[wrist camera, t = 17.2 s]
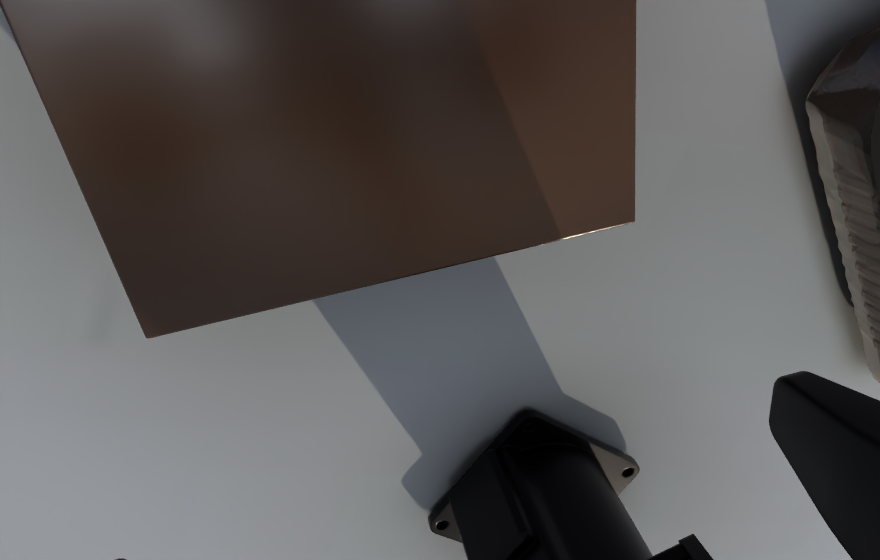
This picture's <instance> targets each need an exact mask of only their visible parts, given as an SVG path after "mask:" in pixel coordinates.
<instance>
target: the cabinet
mask: <svg viewBox="0 0 880 560" xmlns="http://www.w3.org/2000/svg"><path fill="white" fill-rule="evenodd" d="M0 6H1V8H2V11H3V13H4V15H5V17H6V20H7V22H8V24H9V27H10V29H11V31H12V33H13V36H14V38H15V40H16V42H17V45H18V47H19V49H20V52H21V54H22V56H23V58H24V61H25V63H26V65H27V68H28V70H29V72H30V74H31V77H32V79H33V81H34V84H35V86H36V88H37V90H38V93H39V95H40V97H41V100H42V102H43V104H44V106H45V109H46V111H47V113H48V116H49V118H50V120H51V122H52V125H53V127H54V129H55V132H56V134H57V136H58V138H59V141H60V143H61V145H62V147H63V150H64V152H65V154H66V157H67V159H68V161H69V163H70V166H71V168H72V170H73V173H74V175H75V177H76V179H77V182H78V184H79V186H80V189H81V191H82V193H83V195H84V198H85V200H86V202H87V205H88V207H89V209H90V211H91V214H92V216H93V218H94V221H95V223H96V225H97V227H98V230H99V232H100V234H101V237H102V239H103V241H104V243H105V246H106V248H107V250H108V252H109V255H110V257H111V259H112V262H113V264H114V266H115V268H116V271H117V273H118V275H119V278H120V280H121V282H122V284H123V287H124V289H125V291H126V294H127V296H128V298H129V300H130V303H131V305H132V307H133V310H134V312H135V314H136V316H137V319H138V321H139V323H140V326H141V328H142V330H143V332H144V335H145V337H146V338H153V337H157V336H161V335H165V334H169V333H174V332H178V331H182V330H186V329H190V328H195V327H199V326H203V325H207V324H211V323H216V322H220V321H224V320H228V319H232V318H236V317H241V316H245V315H249V314H253V313H257V312H262V311H266V310H270V309H274V308H278V307H282V306H287V305H291V304H295V303H299V302H303V301H308V300H312V299H316V298H320V297H324V296H329V295H333V294H337V293H341V292H345V291H349V290H354V289H358V288H362V287H366V286H370V285H375V284H379V283H383V282H387V281H391V280H395V279H400V278H404V277H408V276H412V275H416V274H421V273H425V272H429V271H433V270H437V269H442V268H446V267H450V266H454V265H458V264H462V263H467V262H471V261H475V260H479V259H483V258H488V257H492V256H496V255H500V254H504V253H508V252H513V251H517V250H521V249H525V248H529V247H534V246H538V245H542V244H546V243H550V242H555V241H559V240H563V239H567V238H571V237H575V236H580V235H584V234H588V233H592V232H596V231H601V230H605V229H609V228H613V227H617V226H621V225H626V224H630V223H633V222H634V221H635V100H636V0H0Z"/></svg>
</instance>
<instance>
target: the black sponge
mask: <svg viewBox="0 0 880 560" xmlns="http://www.w3.org/2000/svg"><path fill="white" fill-rule="evenodd" d="M806 111H807V114H808V116H809V119H810V130H811V133H812V137H813V140H814V143H815V147H816V152H817V161H818V170H819V174H820V177H821V179H822V181H823V183H824V187H825V193H826V197H827V203H828V206H829V208H830V209H831V216H832V220H833V223H834V226H835V228H836V236H837V238H838V248H839V250H840V251H841V253H842V263H843V265H844V266H845V269H846V272H845V276H846V279H847V282H848V289H849V290H850V292H851V294H852V298H851V301H852V302H853V304H854V307H855V309H854V313H855V315H856V317H857V322H856V324H857V326H858V327H859V329H860V331H861V333H862V341H863V346H864V351H865V356H866V359H867V363H868V367H869V369H870V371H871V373H872V375H873V377H874V378H875V379H876V380H877V381H878V382H879V383H880V27H879V28H878V29H876V30H874V31H872V32H870V33H867V34H865V35H863V36H860V37H857V38H854V39H852V40H851V41H850V42H848V43H847V44H846V45H844V47H843V48H842V49H841V50H840V51H839V53H838V54H837V55H836V56H835V57H834V59H833V60H832V61H831V62H830V63H829V65H828V66H827V67H826V68H825V69H824V71H823V72H822V73H821V74H820V75H819V77H818V78H817V80H816V82H815V84H814V86H813V87H812V89H811V91H810V92H809V94H808V96H807V100H806Z"/></svg>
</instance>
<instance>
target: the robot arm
mask: <svg viewBox="0 0 880 560" xmlns="http://www.w3.org/2000/svg"><path fill="white" fill-rule="evenodd" d="M531 421H532V422H531ZM528 422H531V423H530V424H528V425H525V424H526V423H528ZM769 425H770V429H771V432H772V434H773V437H774V438H775V440H776V442H777V443H778V445H779V447H780V448H781V450H782V452H783V453H784V455H785V457H786V458H787V460H788V461H789V463H790V465H791V466H792V468H793V470H794V471H795V473H796V475H797V476H798V478H799V480H800V481H801V483H802V485H803V486H804V488H805V489H806V491H807V493H808V494H809V496H810V498H811V499H812V501H813V503H814V504H815V506H816V508H817V509H818V511H819V512H820V514H821V516H822V517H823V519H824V520H825V522H826V523H827V525H828V526H829V528H830V529H831V531H832V532H833V534H834V535H835V536H836V538H837V539H838V541H839V542H840V543H841V545H842V546H843V547H844V549H845V550H846V551H847V553H848V554H849V555H850V557H851V558H852V559H853V560H880V401H879V400H876V399H874V398H871V397H869V396H867V395H864V394H862V393H859V392H857V391H854V390H852V389H849V388H847V387H845V386H842V385H840V384H837V383H835V382H832V381H830V380H827V379H825V378H823V377H820V376H818V375H815V374H813V373H810V372H806V371H800V372H796V373H792V374H789V375H785V376H782V377H779V378H778V379H777V380H776V381H775V383H774V387H773V394H772V401H771V408H770V415H769ZM638 473H639V466H638V464H637V463H636V461H635V460H634V459H633V458H632V457H630V456H628V455H626V454H624V453H622V452H620V451H618V450H616V449H614V448H612V447H610V446H608V445H605V444H603V443H601V442H599V441H597V440H595V439H593V438H591V437H589V436H587V435H585V434H583V433H581V432H579V431H576V430H574V429H572V428H570V427H568V426H566V425H564V424H562V423H560V422H558V421H556V420H554V419H552V418H549V417H547V416H545V415H543V414H541V413H539V412H537V411H535V410H531V409H529V410H524V411H522V412H520V413H519V414H518V415H516V417H515V418H514V419H513V420H512V421H511V422H510V423H509V425H508V426H507V427H506V428H505V429H504V430H503V431H502V433H501V434H500V435H499V436H498V437H497V438H496V439H495V441H494V442H493V443H492V444H491V445H490V446H489V447H488V449H487V450H486V451H485V452H484V453H483V454H482V455H481V457H480V458H479V459H478V460H477V461H476V462H475V463H474V465H473V466H472V467H471V468H470V469H469V470H468V471H467V473H466V474H465V475H464V476H463V477H462V478H461V479H460V481H459V482H458V483H457V484H456V485H455V486H454V487H453V488H452V490H451V491H450V492H449V493H448V494H447V495H446V496H445V498H444V499H443V500H442V501H441V502H440V503H439V504H438V506H437V507H436V508H435V509H434V510H433V511H432V512H431V514H430V515H429V517H428V522H429V526H430V529H431V531H432V532H434V533H435V534H438V535H441V536H444V537H447V538H450V539H453V540H456V541H459V542H462V543H463V546H464V550H465V553H466V556H467V559H468V560H713V559H712V557H711V556H710V555H709V553H708V552H707V551H706V549H705V548H704V547H703V546H702V544H701V543H700V542H699V540H698V539H697V538H696V536H695V535H694V534H691V535H689V536H687V537H685V538H683V539H681V540H679V544H677V545H675V546H673V547H671V548H669V549H667V550H665V551H663V552H661V553H659V554H657V555H655V556H652V554H651V552H650V550H649V549H648V547H647V545H646V544H645V542H644V540H643V538H642V537H641V535H640V533H639V531H638V530H637V528H636V526H635V525H634V523H633V521H632V519H631V518H630V516H629V514H628V512H627V511H626V509H625V507H624V506H623V504H622V502H621V500H620V499H619V497H618V494H619V493H620V492H621V491H622V490H623V489H624V488H625V487H626V486H627V485H628V484H629V483H630V482H631V481H632V480H633V479H634V478H635V477H636V476H637V474H638ZM440 521H441V522H440ZM116 560H126V559H124V558H123V559H116Z"/></svg>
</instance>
